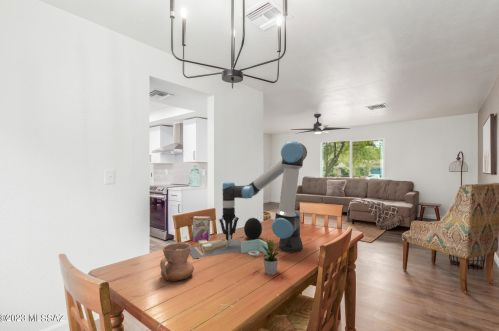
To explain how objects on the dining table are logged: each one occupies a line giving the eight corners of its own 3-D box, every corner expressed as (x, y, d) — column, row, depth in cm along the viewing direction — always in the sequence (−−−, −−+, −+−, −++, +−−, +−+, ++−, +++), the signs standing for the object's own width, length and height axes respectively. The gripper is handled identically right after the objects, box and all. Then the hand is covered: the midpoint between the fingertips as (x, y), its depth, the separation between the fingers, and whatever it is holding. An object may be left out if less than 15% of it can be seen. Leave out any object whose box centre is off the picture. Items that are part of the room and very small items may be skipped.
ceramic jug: (180, 267, 130) (179, 239, 130) (202, 273, 122) (201, 243, 122) (149, 281, 115) (148, 249, 115) (172, 289, 107) (171, 255, 107)
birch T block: (229, 250, 154) (229, 243, 154) (204, 254, 147) (204, 247, 147) (220, 243, 168) (220, 237, 168) (197, 247, 161) (197, 240, 161)
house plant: (249, 267, 129) (249, 235, 129) (274, 264, 134) (274, 232, 134) (261, 279, 116) (261, 243, 116) (288, 275, 121) (288, 240, 121)
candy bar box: (192, 242, 173) (192, 217, 173) (194, 240, 178) (194, 216, 178) (208, 242, 172) (208, 217, 172) (210, 240, 177) (210, 216, 177)
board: (252, 249, 157) (252, 248, 157) (194, 259, 141) (194, 258, 141) (238, 240, 177) (238, 239, 177) (184, 247, 161) (184, 247, 161)
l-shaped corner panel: (241, 254, 151) (241, 241, 151) (259, 251, 156) (259, 239, 156) (250, 261, 140) (250, 247, 140) (269, 257, 145) (269, 244, 145)
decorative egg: (265, 238, 181) (265, 217, 181) (256, 243, 170) (256, 220, 170) (249, 236, 187) (250, 215, 187) (240, 240, 177) (240, 218, 177)
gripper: (235, 205, 168) (236, 241, 168) (216, 207, 162) (217, 244, 162) (240, 207, 162) (241, 244, 161) (221, 208, 156) (221, 248, 155)
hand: (229, 244), depth 162 cm, fingers closed
